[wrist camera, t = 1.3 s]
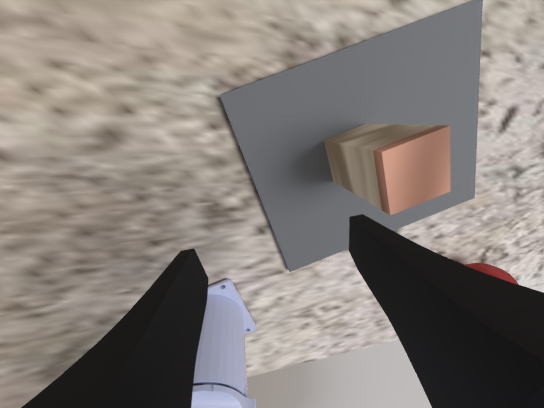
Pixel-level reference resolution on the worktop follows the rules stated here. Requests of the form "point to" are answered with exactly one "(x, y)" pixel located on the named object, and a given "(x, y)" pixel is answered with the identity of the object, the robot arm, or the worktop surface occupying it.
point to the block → (392, 163)
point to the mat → (353, 113)
